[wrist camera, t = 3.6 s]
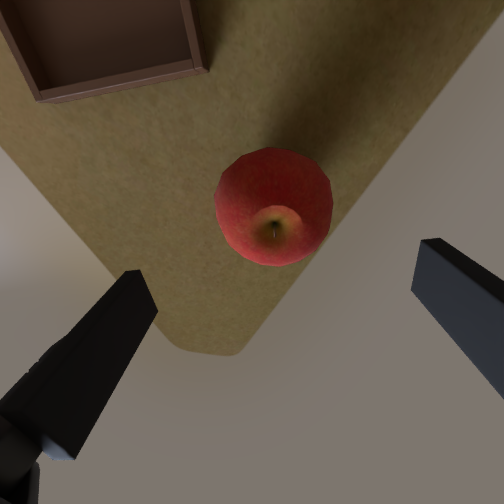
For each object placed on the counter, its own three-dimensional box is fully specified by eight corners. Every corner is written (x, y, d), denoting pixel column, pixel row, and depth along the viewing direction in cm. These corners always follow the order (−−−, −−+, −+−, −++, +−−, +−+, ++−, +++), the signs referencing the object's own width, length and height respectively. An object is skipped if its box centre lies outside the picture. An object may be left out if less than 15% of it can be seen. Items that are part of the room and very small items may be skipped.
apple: (210, 182, 28) (167, 231, 16) (276, 115, 24) (285, 113, 12) (268, 242, 32) (268, 319, 19) (334, 191, 28) (385, 248, 16)
